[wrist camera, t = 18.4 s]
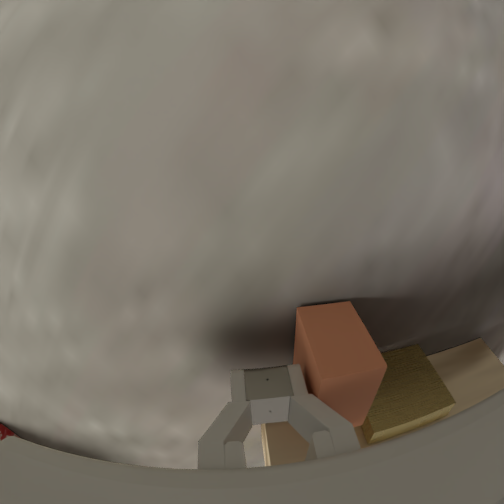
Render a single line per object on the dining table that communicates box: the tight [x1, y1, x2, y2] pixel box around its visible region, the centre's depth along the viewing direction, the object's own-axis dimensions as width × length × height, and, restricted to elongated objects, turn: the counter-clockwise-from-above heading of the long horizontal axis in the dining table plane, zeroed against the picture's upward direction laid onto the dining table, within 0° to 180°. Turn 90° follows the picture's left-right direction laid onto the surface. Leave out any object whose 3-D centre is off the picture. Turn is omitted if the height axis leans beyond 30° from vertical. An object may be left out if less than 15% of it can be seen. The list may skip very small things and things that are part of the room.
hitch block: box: [261, 338, 504, 466], centre depth 14 cm, size 6×16×5 cm, turn 92°
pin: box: [361, 344, 456, 444], centre depth 16 cm, size 15×5×5 cm, turn 3°
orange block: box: [293, 301, 387, 427], centre depth 11 cm, size 4×2×4 cm, turn 2°
